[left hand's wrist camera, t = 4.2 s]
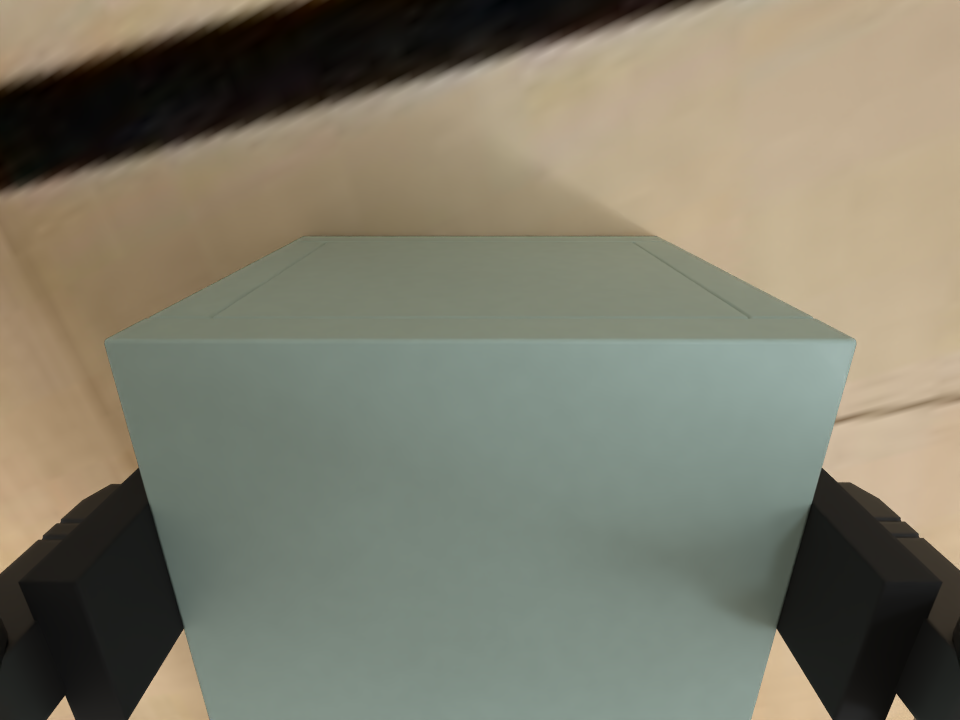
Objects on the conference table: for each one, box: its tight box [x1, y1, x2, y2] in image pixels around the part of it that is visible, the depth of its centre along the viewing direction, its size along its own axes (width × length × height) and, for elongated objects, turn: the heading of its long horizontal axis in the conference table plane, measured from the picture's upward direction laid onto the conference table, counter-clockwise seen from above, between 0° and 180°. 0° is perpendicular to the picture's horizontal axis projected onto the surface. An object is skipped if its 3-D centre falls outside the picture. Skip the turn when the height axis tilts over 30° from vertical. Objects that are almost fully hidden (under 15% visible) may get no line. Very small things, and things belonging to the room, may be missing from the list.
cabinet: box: [104, 236, 856, 720], centre depth 16 cm, size 22×11×9 cm, turn 0°
